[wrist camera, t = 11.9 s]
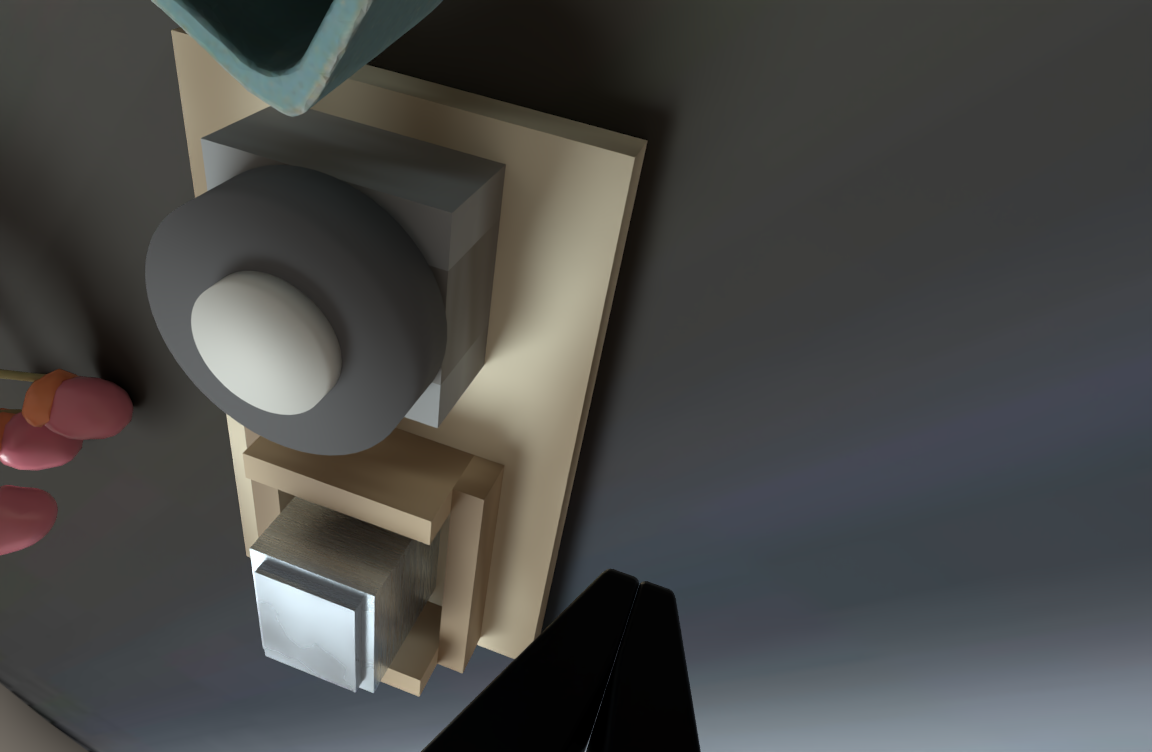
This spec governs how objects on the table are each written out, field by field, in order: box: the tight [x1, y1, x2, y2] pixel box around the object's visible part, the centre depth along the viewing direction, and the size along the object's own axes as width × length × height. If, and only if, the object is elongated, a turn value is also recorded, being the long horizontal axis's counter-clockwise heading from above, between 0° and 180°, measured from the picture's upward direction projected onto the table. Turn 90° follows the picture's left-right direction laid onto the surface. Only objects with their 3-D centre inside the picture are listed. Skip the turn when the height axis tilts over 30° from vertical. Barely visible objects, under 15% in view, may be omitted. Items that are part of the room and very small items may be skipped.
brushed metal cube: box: [250, 496, 441, 693], centre depth 26 cm, size 4×5×5 cm
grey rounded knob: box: [145, 165, 447, 456], centre depth 19 cm, size 6×6×5 cm
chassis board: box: [171, 27, 647, 697], centre depth 24 cm, size 12×20×4 cm, turn 170°
